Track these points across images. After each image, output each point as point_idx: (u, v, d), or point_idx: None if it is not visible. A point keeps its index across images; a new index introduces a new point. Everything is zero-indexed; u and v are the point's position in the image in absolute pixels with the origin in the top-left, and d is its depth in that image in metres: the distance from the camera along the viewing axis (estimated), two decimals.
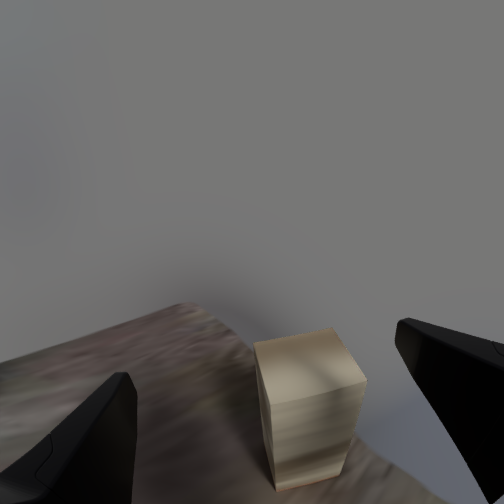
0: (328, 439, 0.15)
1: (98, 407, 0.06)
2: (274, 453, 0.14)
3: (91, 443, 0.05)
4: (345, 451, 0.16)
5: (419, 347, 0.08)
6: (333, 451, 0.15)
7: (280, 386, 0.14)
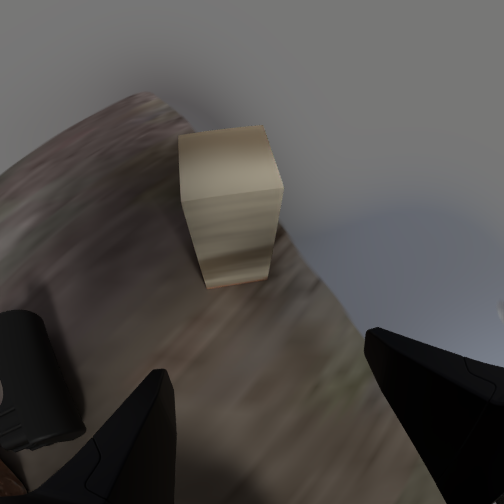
0: (248, 241, 0.18)
1: (143, 406, 0.06)
2: (195, 250, 0.18)
3: (141, 445, 0.05)
4: (269, 256, 0.21)
5: (386, 359, 0.08)
6: (256, 254, 0.20)
7: (195, 182, 0.14)
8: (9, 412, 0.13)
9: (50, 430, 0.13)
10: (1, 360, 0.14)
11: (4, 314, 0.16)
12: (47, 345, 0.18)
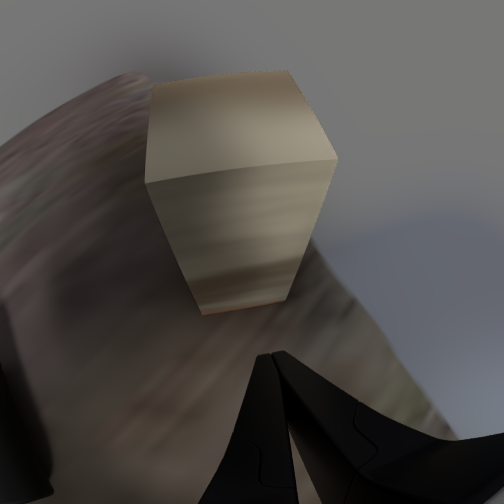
0: (265, 253, 0.12)
1: (273, 390, 0.06)
2: (181, 267, 0.11)
3: None
4: (293, 272, 0.14)
5: (281, 388, 0.07)
6: (275, 271, 0.13)
7: (173, 148, 0.07)
8: None
9: (5, 499, 0.06)
10: None
11: None
12: None
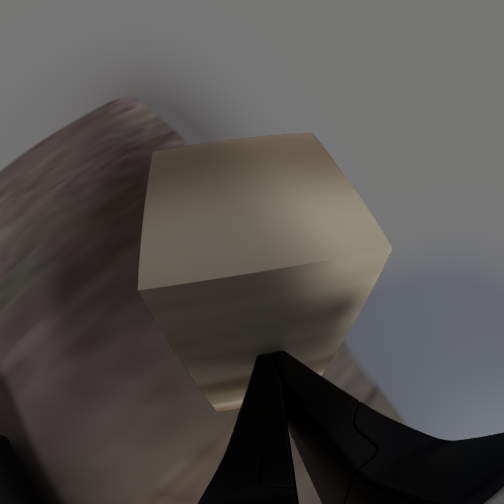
0: None
1: (273, 390, 0.06)
2: (192, 374, 0.09)
3: None
4: (322, 369, 0.11)
5: (282, 388, 0.07)
6: None
7: (176, 239, 0.06)
8: None
9: None
10: None
11: None
12: (15, 476, 0.09)
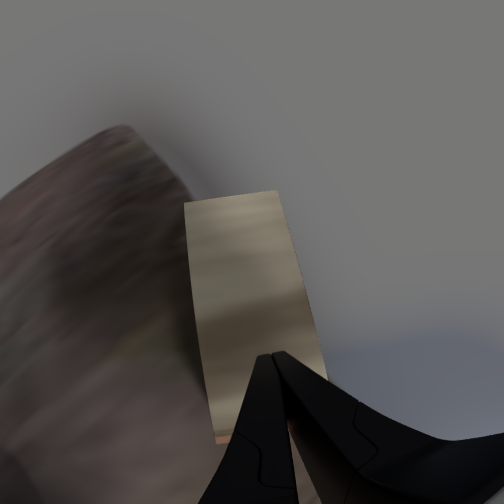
0: (265, 278, 0.13)
1: (273, 390, 0.06)
2: (193, 292, 0.13)
3: None
4: (310, 324, 0.12)
5: (281, 388, 0.07)
6: (287, 316, 0.13)
7: None
8: None
9: None
10: None
11: None
12: None
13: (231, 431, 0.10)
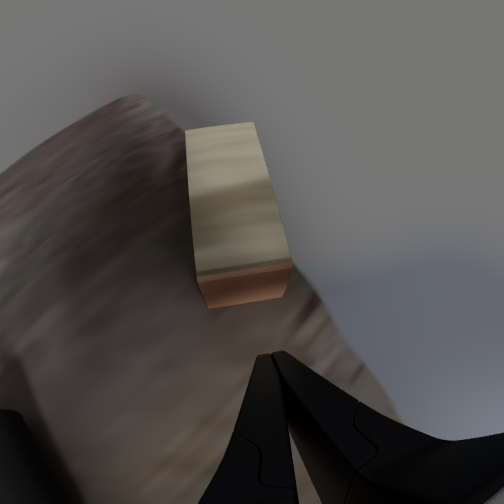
0: (240, 171, 0.18)
1: (273, 390, 0.06)
2: (188, 180, 0.18)
3: None
4: (272, 199, 0.17)
5: (281, 388, 0.07)
6: (255, 194, 0.17)
7: None
8: None
9: None
10: None
11: None
12: (29, 449, 0.11)
13: (209, 271, 0.15)
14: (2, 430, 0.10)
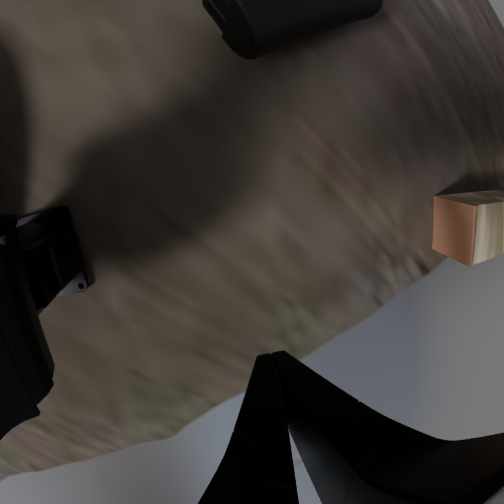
0: None
1: (273, 390, 0.06)
2: None
3: None
4: (495, 255, 0.20)
5: (282, 388, 0.07)
6: (499, 244, 0.20)
7: None
8: None
9: (257, 24, 0.11)
10: None
11: None
12: (343, 24, 0.14)
13: (476, 214, 0.18)
14: (368, 8, 0.13)
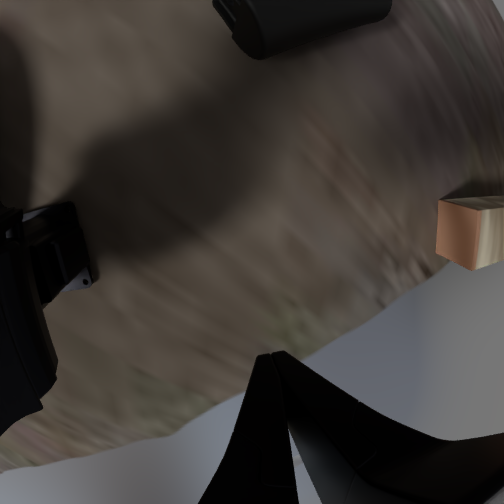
0: None
1: (273, 390, 0.06)
2: None
3: None
4: (498, 260, 0.20)
5: (282, 388, 0.07)
6: (502, 250, 0.20)
7: None
8: None
9: (267, 25, 0.12)
10: None
11: None
12: (352, 27, 0.14)
13: (480, 219, 0.18)
14: (377, 11, 0.13)
